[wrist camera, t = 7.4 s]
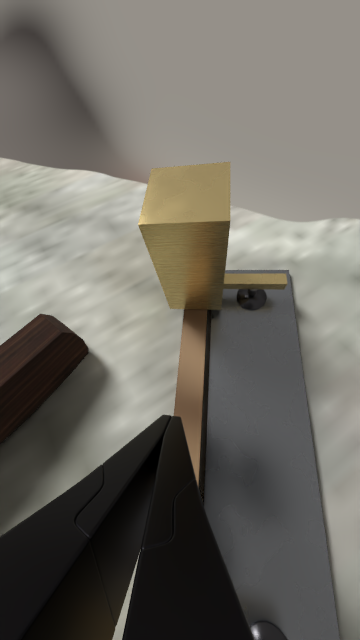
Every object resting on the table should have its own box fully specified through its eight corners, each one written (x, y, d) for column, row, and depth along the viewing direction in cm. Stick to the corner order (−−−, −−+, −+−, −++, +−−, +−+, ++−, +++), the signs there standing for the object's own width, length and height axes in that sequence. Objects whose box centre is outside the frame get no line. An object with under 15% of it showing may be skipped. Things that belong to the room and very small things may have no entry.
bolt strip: (353, 777, 9) (364, 802, 9) (195, 722, 10) (194, 741, 10) (287, 273, 20) (289, 268, 19) (213, 273, 21) (213, 269, 20)
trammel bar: (295, 757, 10) (351, 984, 6) (139, 703, 11) (100, 861, 7) (260, 273, 20) (272, 241, 16) (184, 273, 21) (179, 243, 18)
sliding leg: (281, 314, 17) (353, 215, 9) (171, 311, 19) (138, 224, 10) (276, 271, 19) (332, 152, 10) (176, 271, 21) (151, 168, 12)
